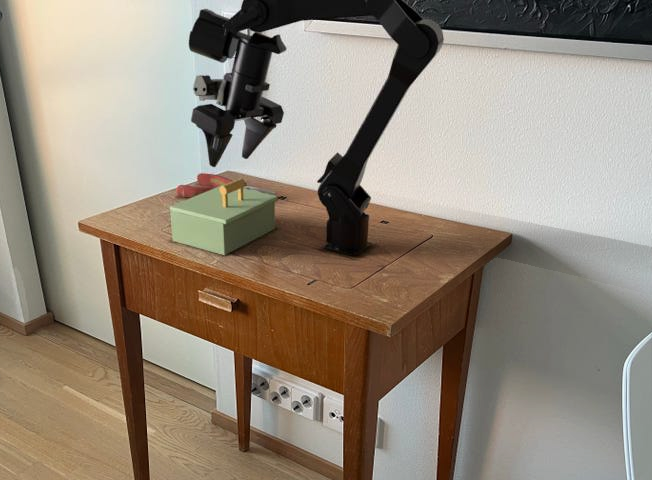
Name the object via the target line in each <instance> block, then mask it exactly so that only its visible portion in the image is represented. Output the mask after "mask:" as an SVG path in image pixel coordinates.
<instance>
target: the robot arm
mask: <svg viewBox="0 0 652 480" xmlns="http://www.w3.org/2000/svg"><path fill="white" fill-rule="evenodd" d="M370 16H371V17H373V18H375V20H377V21H378V23H379V24H380V26H382V28H383V29H384V31H385V32H386V33H387V35H388V36H389V37H390V38H391V39H392V40H393V41H394V42H395V43H396V44H397V46H396V49H395V52H394V55H393V58H392V61H391V65H390V68H389V72H388V75H387V78H386V80H385V81H384V84H383V85H382V87H381V88H380V90H379V92H378V93H377V95H376V98H375V99H374V101H373V103H372V105H371V107H370V108H369V110H368V112H367V114H366V115H365V117H364V119H363V120H362V123H361V124H360V127H359V128H358V130H357V132H356V134H355V136H354V138H353V139H352V141H351V143H350V144H349V146H348V148H347V150H346V152H345V153H344V155H342V154H341V153H339V152H336V153H335V154H334V155H333V156H332V157H331V158H330V159H329V160H328V162H327V164H326V166H325V169H324V172H323V174H322V175H321V176H320V177H319V178H318V179H317V181H316V183H318V184H319V186H318V188H317V196H318V199H319V202H320V203H321V204H322V206H324V207H325V209H326V212H327V215H328V220H326V231H325V233H326V234H325V243H326V244H325V245H323V250H325V251H329V252H332V253H337V254H342V255H345V256H349V257H357V256H359V255H360V254H361V253H363V252H365V251H366V250H368V249H369V248H370V247H372V242H371V241H368V239H369V225H370V214H367V213H366V212H365V211H366V209H368V207H369V205H370V202H371V200H372V196H371V195H370V194H369V193H368V192H367V190H366V189H364V187H363V186H362V185H361V183H362V181H363V178H364V175H365V172H366V168H367V164H368V161H369V158H370V157H371V156H372V154H373V152H374V150H375V148H376V147H377V145H378V143H379V142H380V140H381V138H382V136H383V135H384V133H385V131H386V130H387V127H388V126H389V124H390V123H391V121H392V119H393V117H394V116H395V114H396V112H397V110H398V109H399V108H400V105H401V104H402V102H403V100H404V98H405V97H406V95H407V93H408V91H409V89H410V88H411V87H412V85H413V84H414V83H415V81H416V80H417V79H418V78H419V77H420V75H421V74H422V73H423V71H425V69H427V67H428V66H429V65H430V63H431V62H432V61H433V60H434V58H435V57H436V56H437V55H438V53H439V52H440V51H441V49H442V47H443V45H444V39H445V37H444V32H443V30H442V28H441V26H440V25H439V23H437V22H436V21H434V20H432V19H429V18H427V19H426V18H424V17H422V15H420V13H419V12H418V11H416V9H414V8H413V7H412V6H410V4H408V3H407V2H406V1H405V0H242V1H241V5H240V9H239V10H238V11H237V12H236V13H235V14H234V15H233V16H231V17H230V18H229V17H226V16H223V15H221V14H218V13H216V12H214V11H213V10H211V9H208V8H203V9H200V10H199V14H198V17H197V18H196V19H195V22H194V24H193V26H192V29H191V30H190V32H189V36H188V48H189V51H190V52H192V53H195V54H197V55H200V56H202V57H205V58H209V59H211V60H214V61H216V62H219V63H221V64H224V63H226V62H227V60H228V59H230V60H232V59H233V58H234V59H233V63H232V67H231V72H226V73H225V74H224V75H223V76H222V77H223V78H211V76H210V75H207V74H205V75H203V74H202V75H200V74H199V75H196V76H195V79H194V82H193V86H192V87H193V88H192V90H193V94H194V96H196V97H198V99H199V101H202V102H203V101H204V102H205V101H206V100H210V101H211V100H212V101H216V102H215V104H216V105H215V104H213V103H207V104H200V105H197V106H195V107H194V108H192V112H191V118H190V122H191V123H193V124H195V126H196V128H198V129H200V130H201V131H202V132H203V134H204V137H205V142H206V149H207V156H208V163H209V166H210V167H212V168H216V167H217V165H218V164H219V162H220V161H221V158H222V156H223V155H224V153H225V151H226V149H227V147H228V145H229V143H230V141H231V139H232V138H233V134H232V131H233V130H234V128H235V124H236V122H240V121H244V125H245V129H244V135H243V143H242V148H241V149H242V150H241V158H243V159H245V160H247V159H249V158H250V157H251V156H252V154H253V153H254V152H255V151H256V149H257V148H258V146H259V145H260V144H262V142H264V140H265V139H266V137H268V135H270V133H271V132H272V131H273V130H274V129H276V128H277V125H278V124H282V122H283V118H284V114H285V112H284V108H283V107H282V105H281V104H279V103H277V102H275V101H272V100H271V99H269V98H267V97H265V96H263V93H264V92H266V91H269V90H270V86H271V84H270V83H268V82H266V80H267V77H268V72H269V67H270V64H271V59H272V56H273V54H276V55H280V54H282V53H284V52H286V51H287V47H286V45H285V43H284V42H283V40H282V37H281V34H279V33H278V34H275V35H273V36H272V37H271V36H268V35H266V34H263V33H264V32H267V31H271V30H275V29H278V28H283V27H285V26H288V25H292V24H294V23H298V22H302V21H303V22H305V21H317V20H330V19H345V18H356V17H357V18H358V17H370ZM248 29H249V30H250V31H252V32H253V33H252V34H251V35H250V34H247V33H245V32H242V31H245V30H248ZM217 105H219V106H221V107H224V109H223V108H221V107H218V106H217Z"/></svg>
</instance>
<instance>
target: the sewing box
mask: <svg viewBox="0 0 652 480" xmlns="http://www.w3.org/2000/svg"><path fill="white" fill-rule="evenodd" d="M169 214H170V224H171V225H170V226H171V236H172V242H174V243H179V244H181V245H186V246H188V247H193V248H197V249H200V250H205V251H208V252H210V253H211V252H212V253H215V254H219V255H223V256H226V255H228V254H229V253H232V252H234V251H236V250H238V249H239V248H241V247H243V246H245V245H247V244H249V243H251V242H253V241H254V240H257V239H258V238H261V237H263V236H264V235H266V234H268V233H270V232H272V231H274V230H275V229H276V217H275V216H276V202H275V201H273V202H271V203H269V204H267V205H265V206H263V207H261V208H259V209H257V210H255V211H253V212H250V213H248V214H246V215H244V216H242V217H240V218H238V219H236V220H234V221H232V222H229V223H227V224H223V223H219V222H215V221H211V220H207V219H203V218H199V217H195V216H191V215H187V214H183V213H179V212H175V211H171V210H170V211H169Z"/></svg>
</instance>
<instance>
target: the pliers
mask: <svg viewBox="0 0 652 480" xmlns="http://www.w3.org/2000/svg"><path fill="white" fill-rule="evenodd" d="M196 180H197V182H198V184H199V185H202V186H194V185H193V186H192V185H188V184H187V185H186V184H179V185H178V186H177V187H176V194H177V196H178V197H181V198H186V199H187V198H188V199H190V198H192V197H195V196H197V195H200V194H202V193H204V192H207V191H209V190H212V189H214V188H217V187H219V186H221V185H226V184H228V183H231V182H233V181H234V180H232V179H229V178H227V177H224V176H222V175H219V174H213V173H205V172H201V173H198V174H197V175H196ZM243 189H246V190H251V191H256V192H260V193H265V194H270V195H277V191H273V190H270V189H265V188H261V187H256V186H251V185H250V186H249V185H247V182H246V181H245V186H244V187H243Z"/></svg>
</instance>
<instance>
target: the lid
mask: <svg viewBox="0 0 652 480" xmlns="http://www.w3.org/2000/svg"><path fill="white" fill-rule="evenodd" d="M232 181H233V182H231V183H228V184H226V185H221V186H219V187H217V188H214V189H212V190H209V191H207V192H204V193H202V194H200V195H197V196H195V197H192V198H188V199H187V198H186V199H185V200H183V201H181V202H177V203H175V204H173V205H170V206H169V210H170V211H175V212H179V213H183V214H187V215H191V216H195V217H199V218H203V219H207V220H211V221H215V222H219V223H223V224H227V223H229V222H232V221H234V220H236V219H238V218H240V217H242V216H244V215H246V214H248V213H250V212H253V211H255V210H257V209H259V208H261V207H263V206H265V205H267V204H269V203H271V202H273V201H277V200H278V196H277V195H275V194H271V195H270V194H265V193H260V192H256V191H251V190H246V189H243V187H244V186H245V182H246V181H245V179H244V178H238V179H235V180H232Z"/></svg>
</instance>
